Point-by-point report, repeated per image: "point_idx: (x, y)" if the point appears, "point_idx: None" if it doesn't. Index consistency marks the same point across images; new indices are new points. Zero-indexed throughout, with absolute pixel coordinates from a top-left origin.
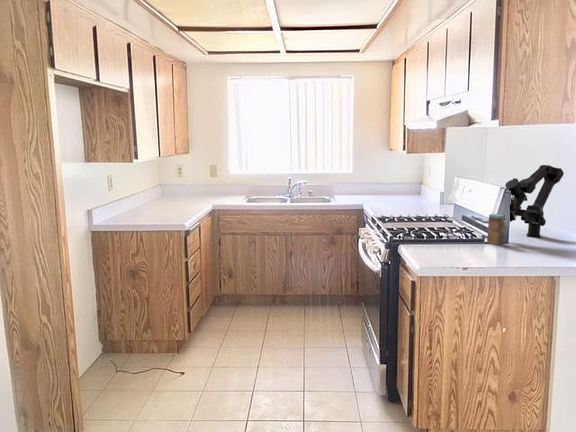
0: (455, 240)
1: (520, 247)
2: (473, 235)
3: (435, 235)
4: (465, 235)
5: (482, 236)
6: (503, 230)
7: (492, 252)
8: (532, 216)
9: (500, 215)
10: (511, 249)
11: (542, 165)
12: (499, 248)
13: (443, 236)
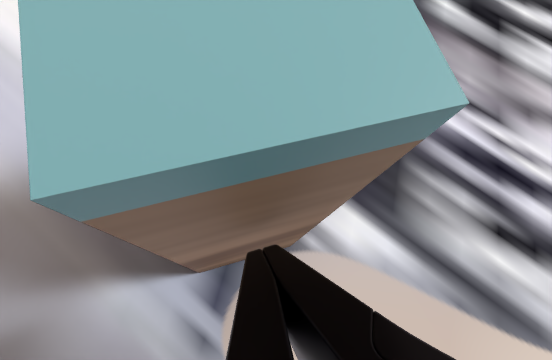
0: None
1: (11, 355)
2: (532, 244)
3: (523, 13)
4: (530, 182)
5: (496, 297)
6: (176, 262)
7: (18, 21)
8: None
9: (88, 4)
10: (4, 207)
11: None
12: None
13: (497, 35)
